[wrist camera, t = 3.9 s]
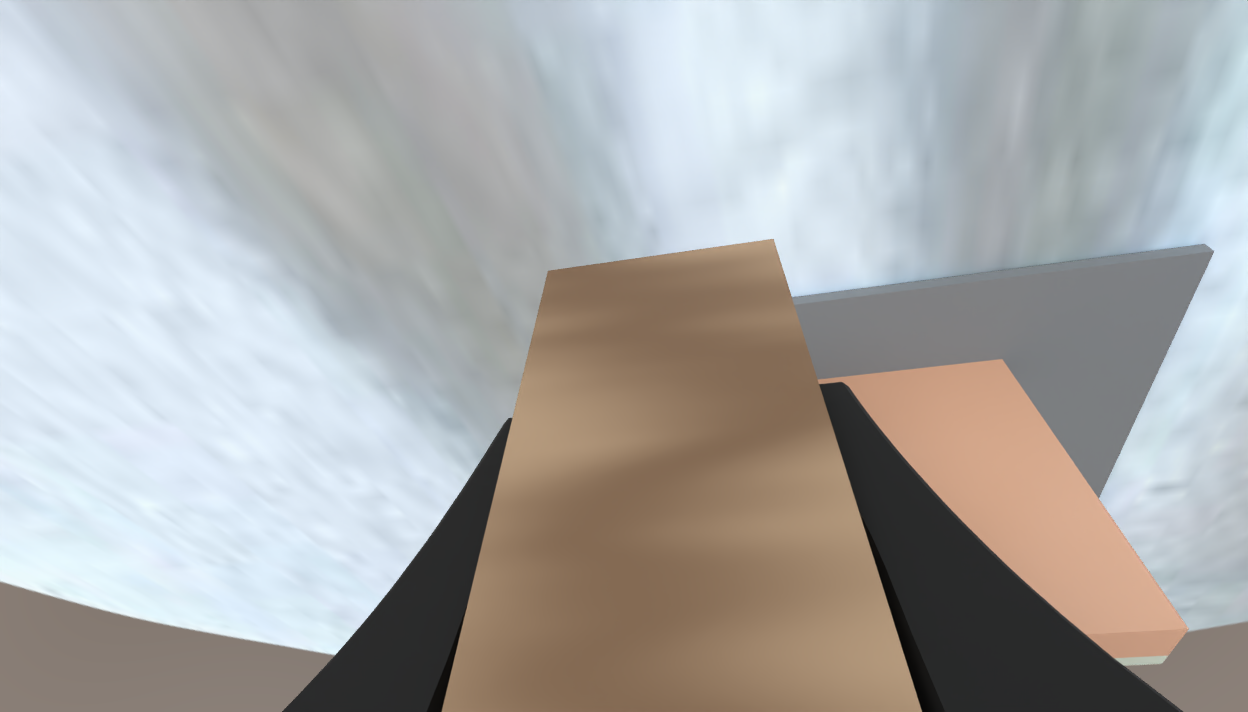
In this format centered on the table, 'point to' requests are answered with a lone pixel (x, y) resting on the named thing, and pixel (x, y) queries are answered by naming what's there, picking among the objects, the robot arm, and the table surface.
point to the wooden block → (675, 510)
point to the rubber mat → (1026, 336)
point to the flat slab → (1023, 498)
